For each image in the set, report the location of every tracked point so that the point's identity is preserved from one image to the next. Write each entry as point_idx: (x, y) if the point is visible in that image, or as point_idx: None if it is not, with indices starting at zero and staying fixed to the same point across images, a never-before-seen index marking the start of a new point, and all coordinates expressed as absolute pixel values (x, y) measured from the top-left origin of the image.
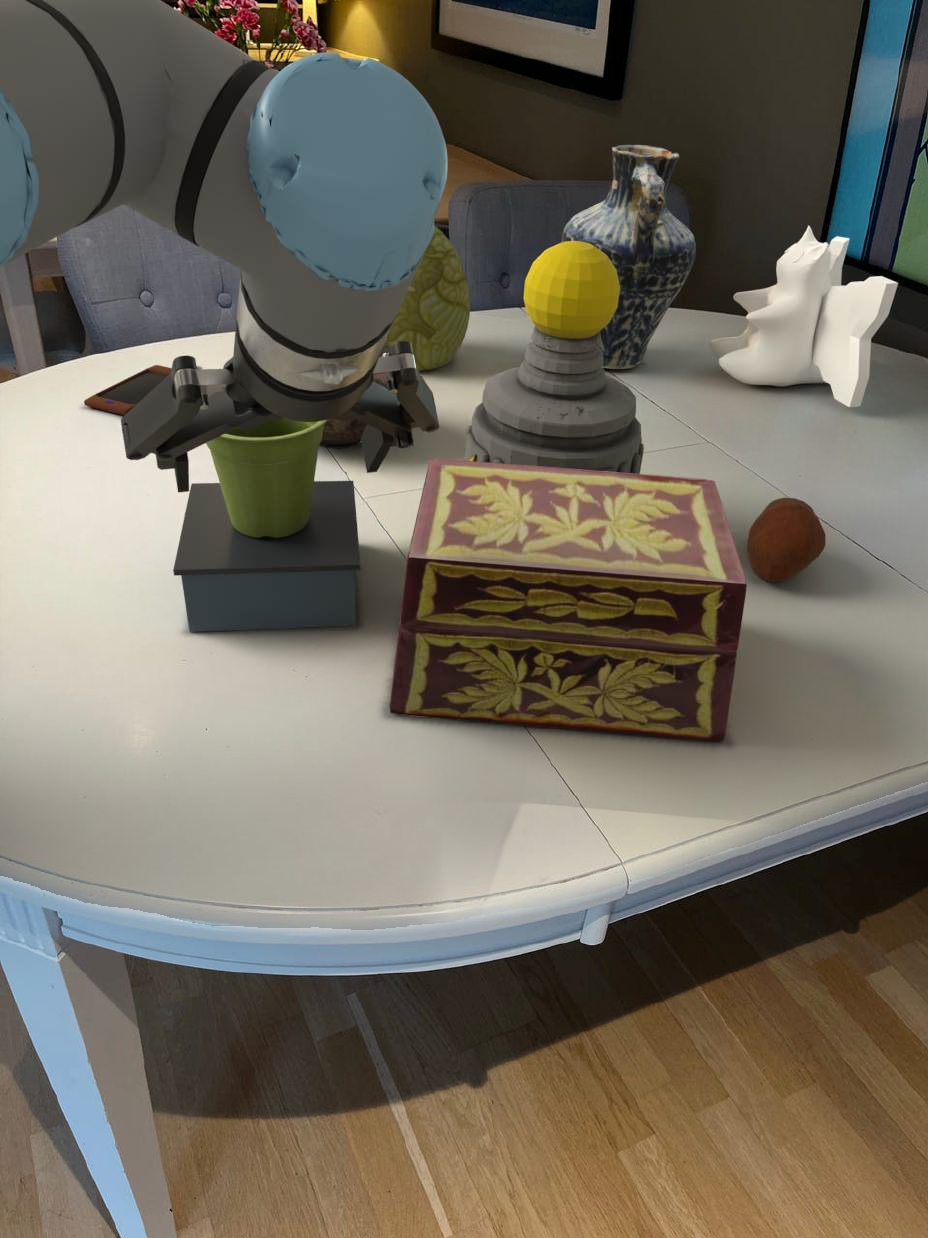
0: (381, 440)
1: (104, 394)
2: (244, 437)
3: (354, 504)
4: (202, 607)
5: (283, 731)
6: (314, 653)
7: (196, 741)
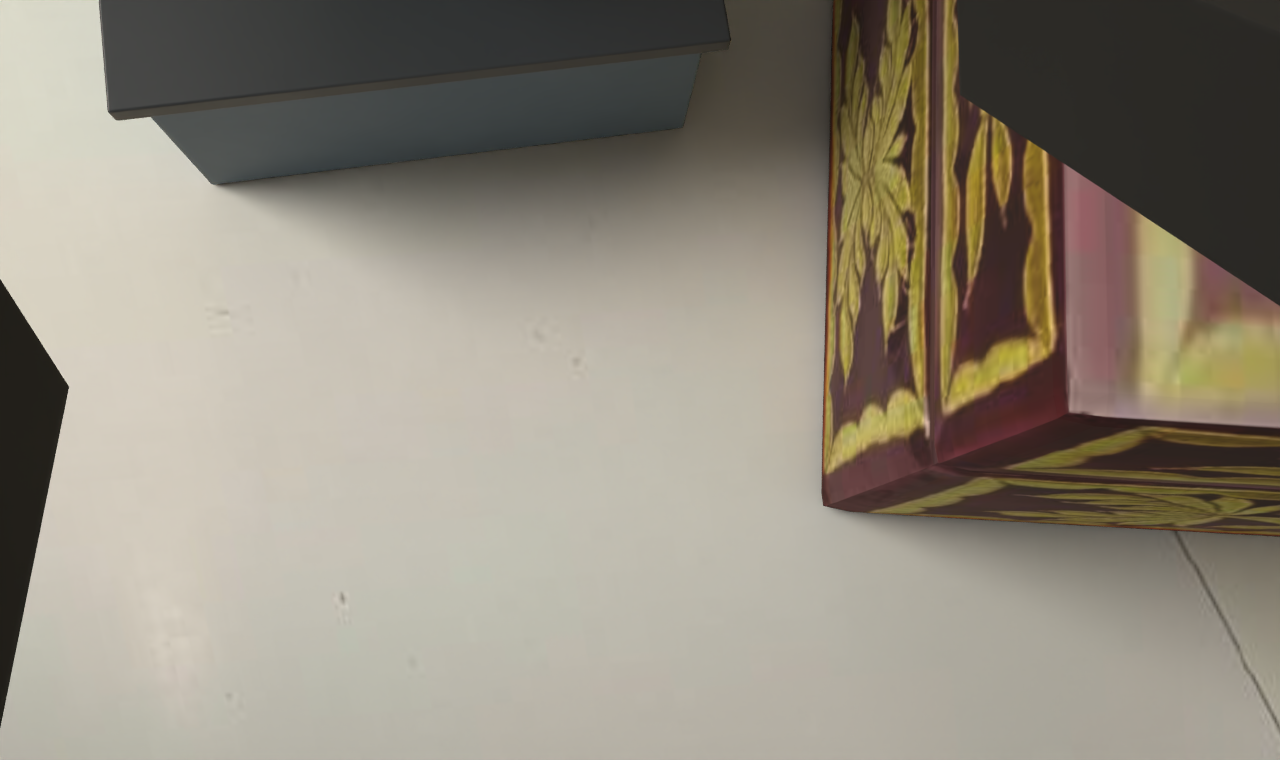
0: (1272, 278)
1: None
2: None
3: None
4: (234, 149)
5: (548, 591)
6: (583, 258)
7: (324, 648)
